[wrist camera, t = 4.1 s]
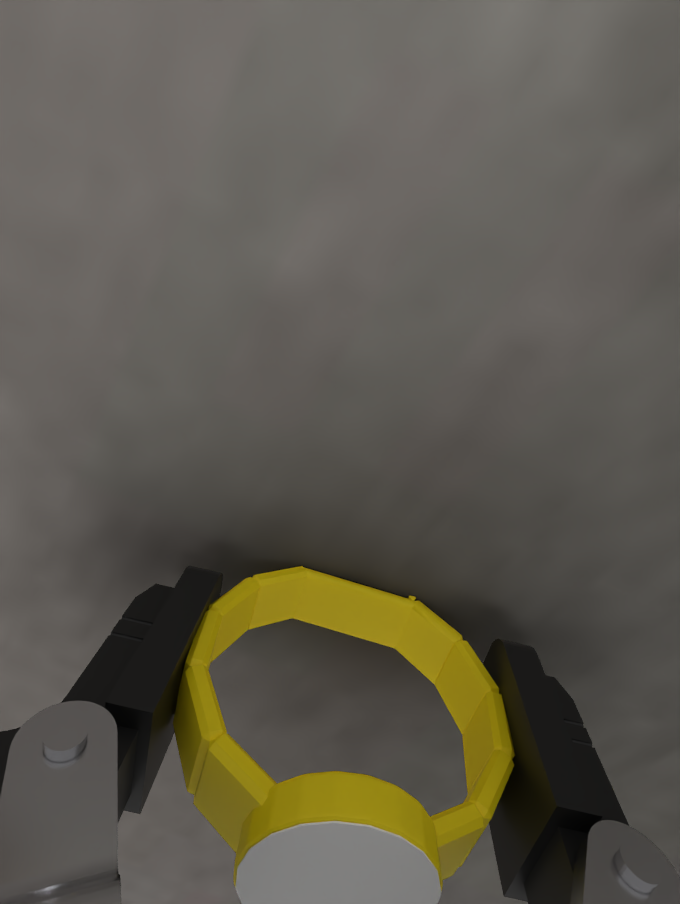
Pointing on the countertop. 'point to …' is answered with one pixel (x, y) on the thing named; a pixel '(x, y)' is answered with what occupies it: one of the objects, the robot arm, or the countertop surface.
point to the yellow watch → (339, 793)
